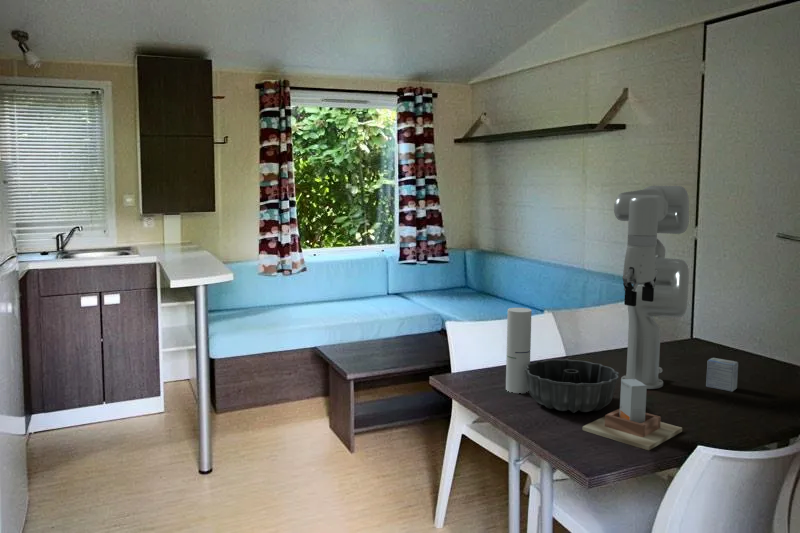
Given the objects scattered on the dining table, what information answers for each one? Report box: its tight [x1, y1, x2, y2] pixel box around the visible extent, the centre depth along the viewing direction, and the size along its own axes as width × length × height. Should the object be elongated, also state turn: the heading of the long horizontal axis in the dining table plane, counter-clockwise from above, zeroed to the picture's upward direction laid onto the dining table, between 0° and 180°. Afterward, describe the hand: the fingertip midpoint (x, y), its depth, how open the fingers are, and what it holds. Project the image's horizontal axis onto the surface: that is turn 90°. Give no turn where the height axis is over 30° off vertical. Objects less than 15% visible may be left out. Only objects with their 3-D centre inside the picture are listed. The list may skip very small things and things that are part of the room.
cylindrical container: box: [505, 307, 533, 394], centre depth 208 cm, size 7×7×25 cm
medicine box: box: [705, 357, 739, 392], centre depth 211 cm, size 8×4×9 cm, turn 47°
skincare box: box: [619, 379, 648, 423], centre depth 175 cm, size 6×4×12 cm
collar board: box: [582, 408, 683, 451], centre depth 176 cm, size 18×18×4 cm
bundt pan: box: [524, 358, 620, 414], centre depth 197 cm, size 26×26×10 cm
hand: (638, 303), depth 189 cm, fingers open, 9 cm apart
